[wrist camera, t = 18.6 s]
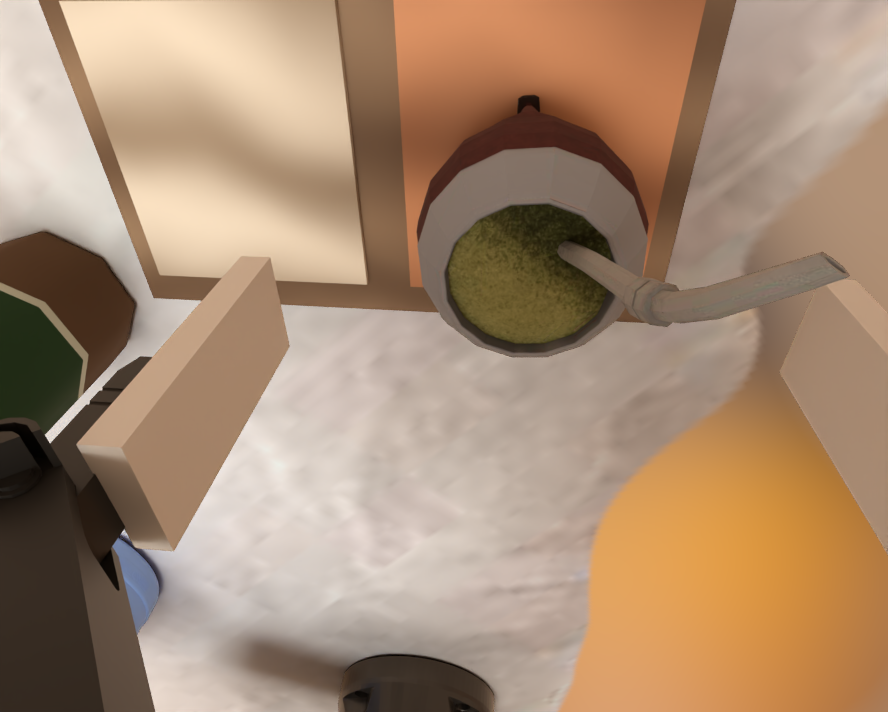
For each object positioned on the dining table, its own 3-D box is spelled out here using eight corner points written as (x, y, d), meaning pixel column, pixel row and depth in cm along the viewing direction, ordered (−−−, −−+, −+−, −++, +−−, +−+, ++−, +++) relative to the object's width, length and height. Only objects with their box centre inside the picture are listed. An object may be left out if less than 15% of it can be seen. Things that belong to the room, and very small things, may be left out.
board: (648, 305, 27) (654, 326, 25) (168, 282, 29) (150, 301, 28) (737, -65, 18) (755, -64, 17) (47, -53, 20) (12, -51, 19)
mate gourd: (446, 264, 24) (372, 582, 13) (427, 62, 20) (279, 272, 8) (624, 259, 23) (725, 603, 12) (649, 45, 19) (864, 259, 7)
